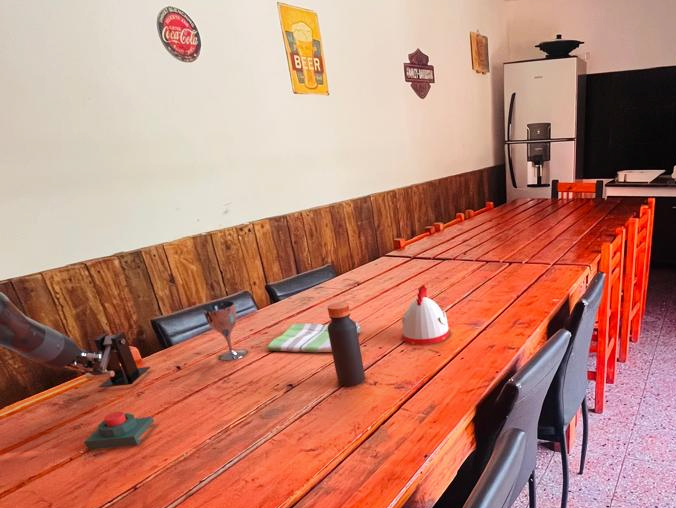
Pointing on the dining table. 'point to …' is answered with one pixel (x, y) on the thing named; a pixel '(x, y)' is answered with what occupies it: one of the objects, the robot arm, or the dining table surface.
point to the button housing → (119, 433)
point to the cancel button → (115, 419)
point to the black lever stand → (126, 360)
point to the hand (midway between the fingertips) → (99, 371)
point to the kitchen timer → (424, 321)
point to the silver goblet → (223, 324)
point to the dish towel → (304, 339)
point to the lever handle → (105, 359)
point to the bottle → (345, 345)
